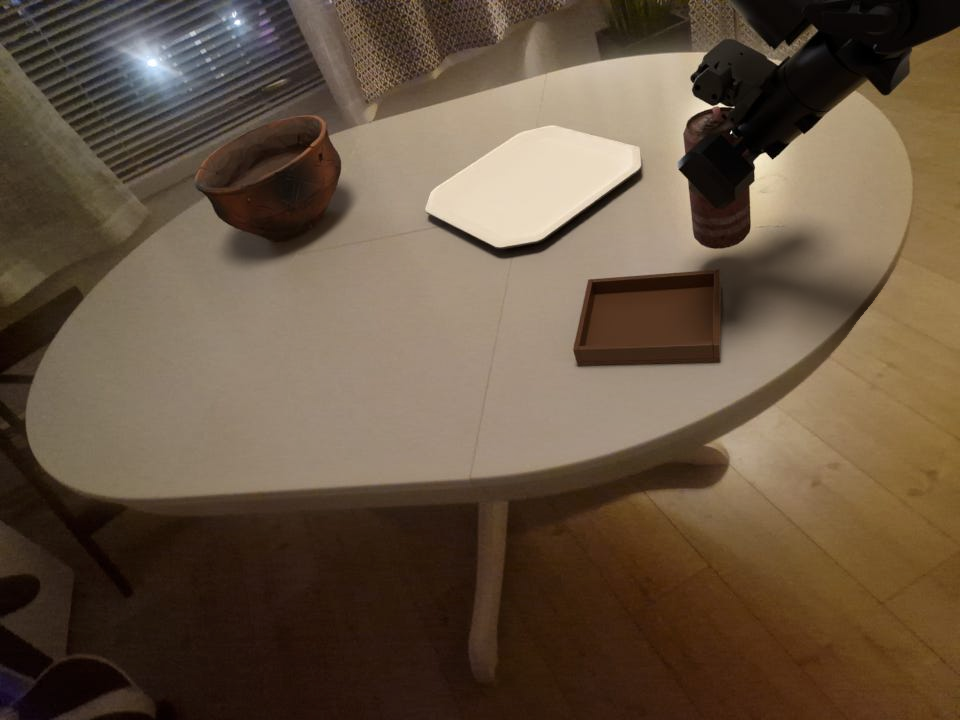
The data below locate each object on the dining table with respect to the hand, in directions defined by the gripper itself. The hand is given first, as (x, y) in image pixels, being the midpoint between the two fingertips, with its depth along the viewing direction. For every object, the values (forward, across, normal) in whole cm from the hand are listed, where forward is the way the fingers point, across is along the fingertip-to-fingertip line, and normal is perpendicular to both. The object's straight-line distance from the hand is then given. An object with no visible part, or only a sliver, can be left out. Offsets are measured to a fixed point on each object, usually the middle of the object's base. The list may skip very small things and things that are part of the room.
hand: (706, 176), depth 70 cm
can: (+4, 0, +6) cm, 7 cm away
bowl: (+61, +18, -45) cm, 78 cm away
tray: (+9, +12, +8) cm, 17 cm away
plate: (+34, -6, -17) cm, 38 cm away
